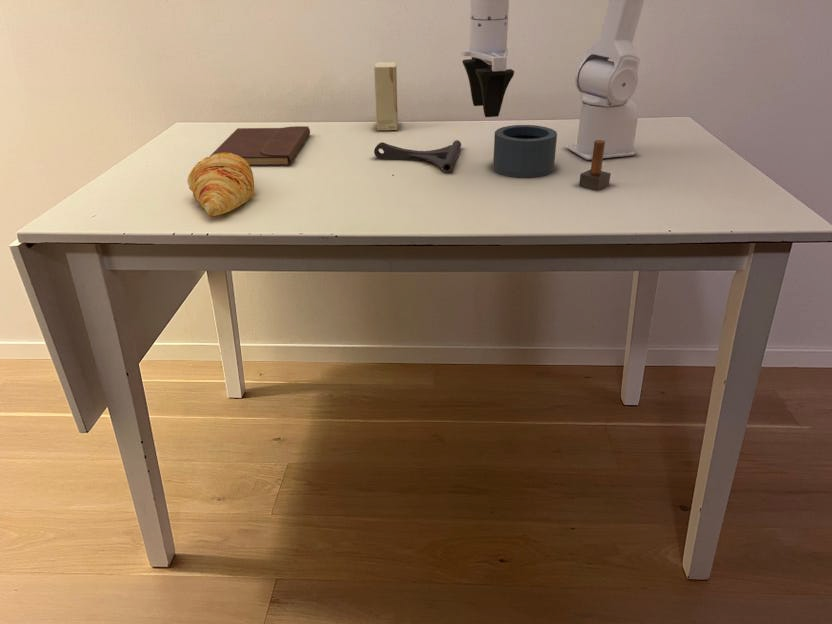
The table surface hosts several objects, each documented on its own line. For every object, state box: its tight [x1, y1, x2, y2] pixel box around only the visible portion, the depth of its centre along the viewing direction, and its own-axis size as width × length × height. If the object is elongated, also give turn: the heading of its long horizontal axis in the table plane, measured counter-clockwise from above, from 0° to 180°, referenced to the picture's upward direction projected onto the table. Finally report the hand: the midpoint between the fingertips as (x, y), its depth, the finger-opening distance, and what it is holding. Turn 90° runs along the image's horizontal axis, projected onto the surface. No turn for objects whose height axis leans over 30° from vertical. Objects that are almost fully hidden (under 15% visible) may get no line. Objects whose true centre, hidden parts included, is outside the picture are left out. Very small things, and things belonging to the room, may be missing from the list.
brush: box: [578, 140, 612, 192], centre depth 110 cm, size 3×3×7 cm
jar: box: [492, 124, 558, 178], centre depth 118 cm, size 10×10×6 cm
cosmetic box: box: [373, 61, 399, 131], centre depth 141 cm, size 6×4×12 cm
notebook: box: [208, 125, 311, 167], centre depth 132 cm, size 15×20×2 cm
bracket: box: [373, 139, 462, 173], centre depth 125 cm, size 14×15×3 cm
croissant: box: [186, 152, 255, 217], centre depth 109 cm, size 21×10×8 cm, turn 5°
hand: (485, 110), depth 113 cm, fingers open, 7 cm apart
